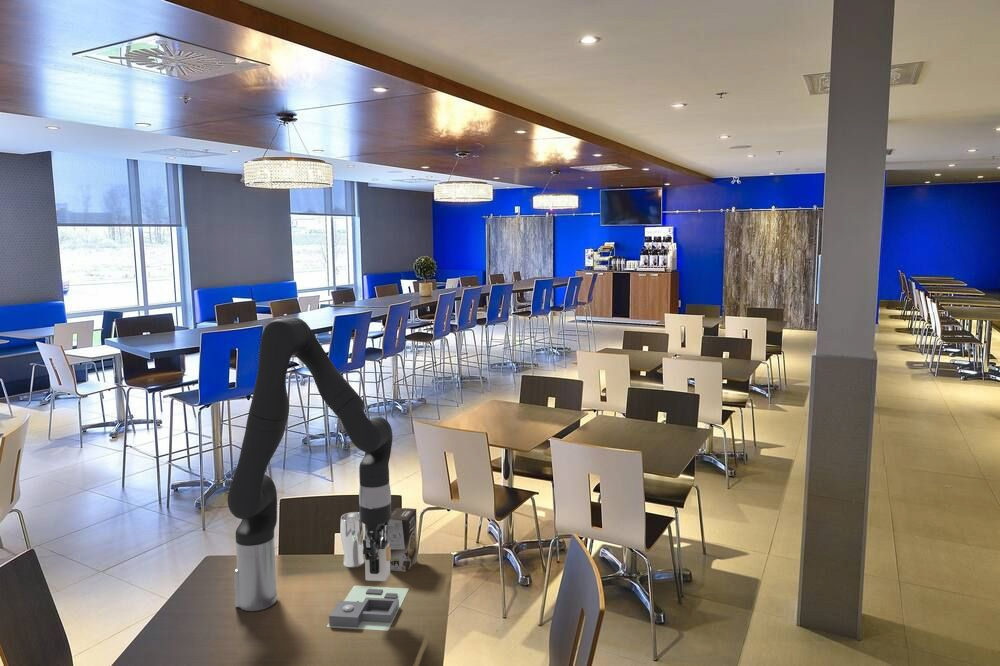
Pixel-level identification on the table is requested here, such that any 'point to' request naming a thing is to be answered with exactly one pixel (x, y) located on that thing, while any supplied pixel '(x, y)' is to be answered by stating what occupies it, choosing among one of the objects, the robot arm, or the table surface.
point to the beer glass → (352, 539)
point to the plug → (380, 564)
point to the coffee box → (402, 539)
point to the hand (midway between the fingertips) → (377, 568)
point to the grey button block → (347, 614)
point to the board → (377, 606)
